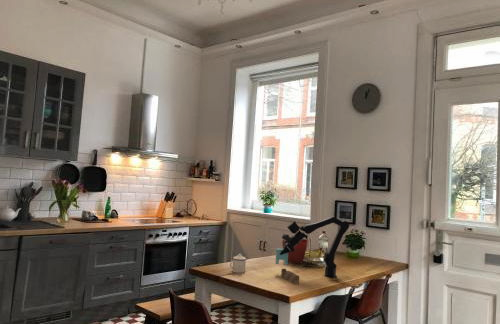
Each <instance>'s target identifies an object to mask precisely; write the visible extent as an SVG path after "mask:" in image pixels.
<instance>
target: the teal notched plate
mask: <svg viewBox="0 0 500 324" xmlns="http://www.w3.org/2000/svg"><path fill="white" fill-rule="evenodd" d="M282 250H283V249H282V248H275V265H279V264H280V263H279V262H280V261H284V262H283V263H284V265H285V266H286V265H288V263H289V262H288V253H285V254H282V255H280V253H281V251H282Z"/></svg>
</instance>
